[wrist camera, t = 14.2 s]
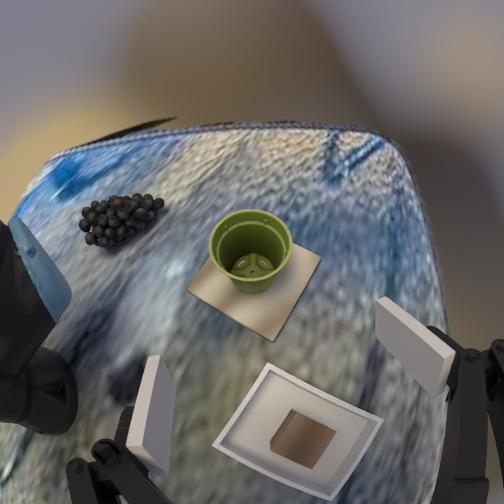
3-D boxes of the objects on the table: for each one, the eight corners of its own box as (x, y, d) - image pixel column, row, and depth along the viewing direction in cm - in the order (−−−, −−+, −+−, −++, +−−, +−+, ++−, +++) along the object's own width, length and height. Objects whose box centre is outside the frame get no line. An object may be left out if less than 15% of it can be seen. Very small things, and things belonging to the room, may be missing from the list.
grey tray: (218, 439, 29) (211, 445, 25) (267, 365, 34) (267, 362, 30) (324, 490, 25) (331, 501, 21) (370, 417, 29) (383, 419, 25)
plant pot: (252, 233, 42) (249, 196, 35) (300, 272, 39) (308, 240, 31) (206, 274, 39) (192, 244, 32) (254, 319, 36) (251, 298, 28)
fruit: (151, 166, 40) (68, 204, 37) (166, 211, 38) (77, 251, 36) (161, 189, 48) (89, 220, 45) (175, 229, 47) (99, 261, 44)
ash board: (187, 291, 39) (186, 289, 38) (240, 220, 45) (239, 217, 44) (272, 342, 35) (272, 341, 34) (320, 260, 41) (321, 257, 40)
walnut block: (269, 440, 28) (270, 450, 23) (291, 408, 30) (296, 412, 25) (304, 457, 27) (311, 469, 21) (325, 425, 29) (336, 431, 23)
